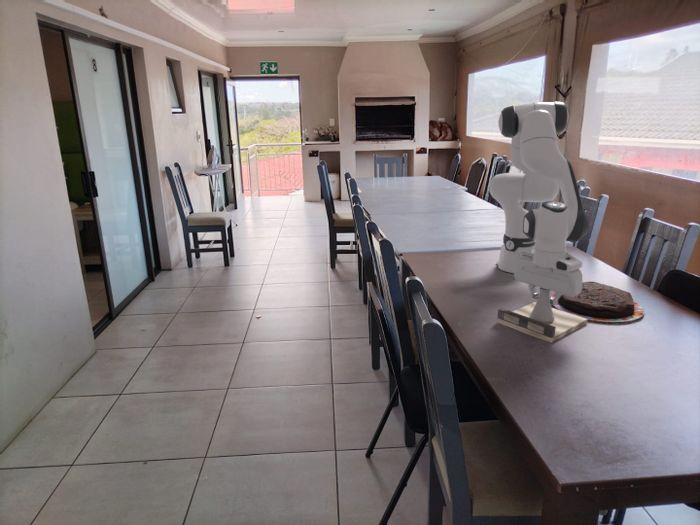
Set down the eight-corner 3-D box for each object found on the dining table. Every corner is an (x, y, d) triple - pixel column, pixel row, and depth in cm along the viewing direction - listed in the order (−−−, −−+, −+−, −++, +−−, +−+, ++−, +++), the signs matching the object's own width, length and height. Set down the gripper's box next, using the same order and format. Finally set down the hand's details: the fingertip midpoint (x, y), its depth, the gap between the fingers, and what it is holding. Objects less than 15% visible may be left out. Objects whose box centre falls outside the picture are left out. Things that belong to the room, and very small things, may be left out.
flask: (553, 315, 149) (557, 285, 146) (555, 324, 142) (559, 293, 139) (529, 312, 151) (532, 283, 148) (529, 322, 144) (532, 291, 141)
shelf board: (533, 306, 159) (535, 293, 158) (586, 323, 146) (588, 310, 144) (496, 322, 148) (497, 309, 146) (550, 343, 134) (552, 328, 133)
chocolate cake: (605, 333, 140) (609, 312, 138) (531, 302, 164) (533, 284, 162) (663, 313, 153) (666, 294, 151) (585, 287, 176) (588, 270, 174)
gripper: (511, 252, 147) (508, 294, 151) (576, 268, 131) (570, 314, 135) (523, 248, 150) (519, 289, 154) (587, 263, 135) (581, 308, 139)
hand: (543, 301), depth 145 cm, fingers open, 5 cm apart
